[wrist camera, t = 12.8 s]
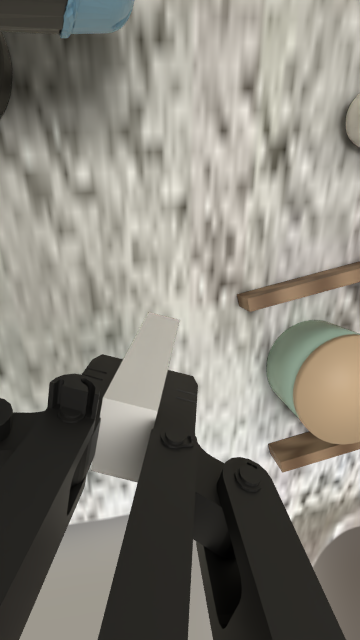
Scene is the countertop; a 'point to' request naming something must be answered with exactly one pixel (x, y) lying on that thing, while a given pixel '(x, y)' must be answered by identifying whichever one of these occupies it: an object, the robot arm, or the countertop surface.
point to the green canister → (319, 378)
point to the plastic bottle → (354, 121)
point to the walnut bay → (304, 445)
